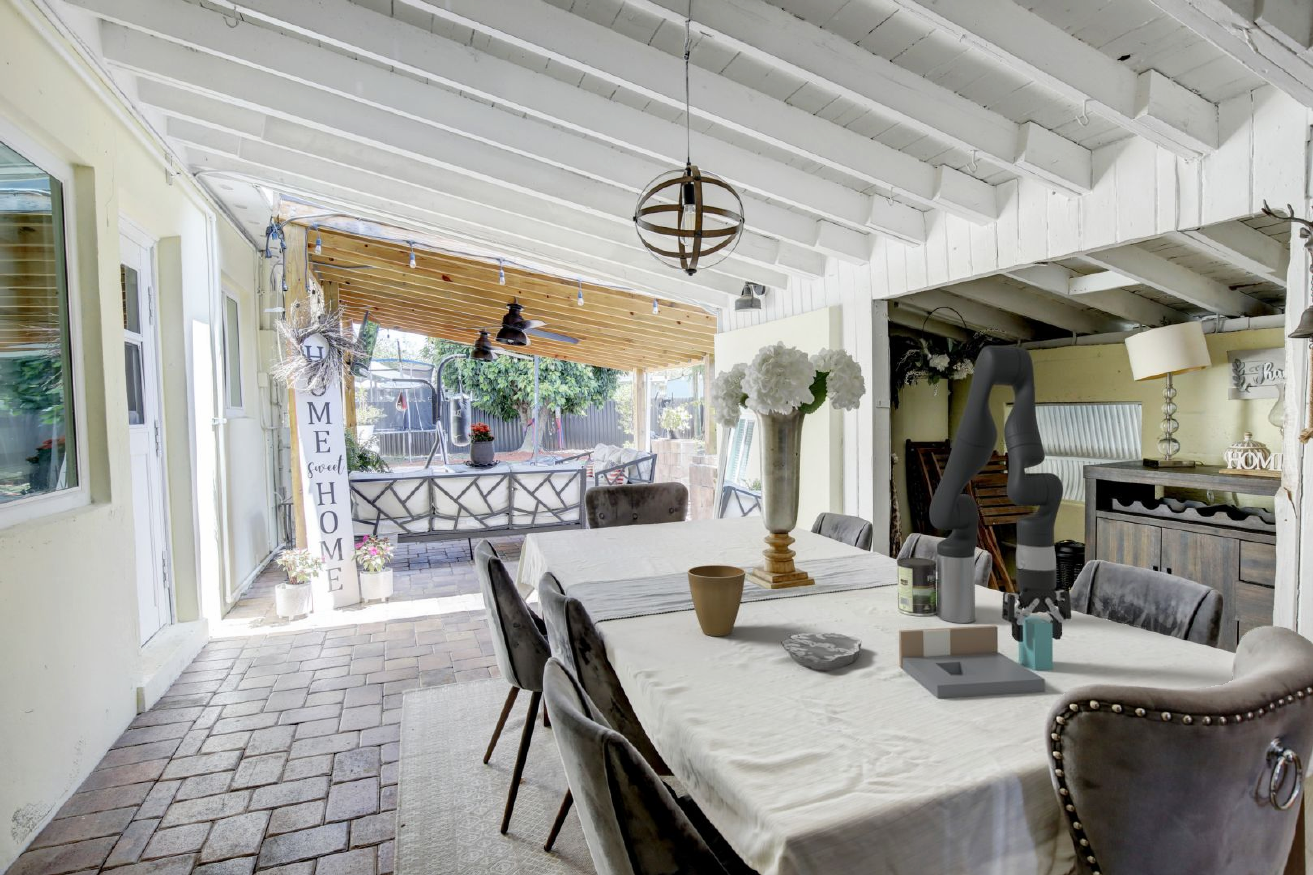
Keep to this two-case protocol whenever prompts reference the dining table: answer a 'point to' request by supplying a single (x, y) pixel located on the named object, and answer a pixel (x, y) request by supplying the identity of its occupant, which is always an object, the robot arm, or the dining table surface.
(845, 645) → the brain slice
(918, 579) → the coffee can
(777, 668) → the dining table surface
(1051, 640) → the teal block
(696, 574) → the plant pot
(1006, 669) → the socket plate
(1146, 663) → the dining table surface
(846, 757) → the dining table surface
